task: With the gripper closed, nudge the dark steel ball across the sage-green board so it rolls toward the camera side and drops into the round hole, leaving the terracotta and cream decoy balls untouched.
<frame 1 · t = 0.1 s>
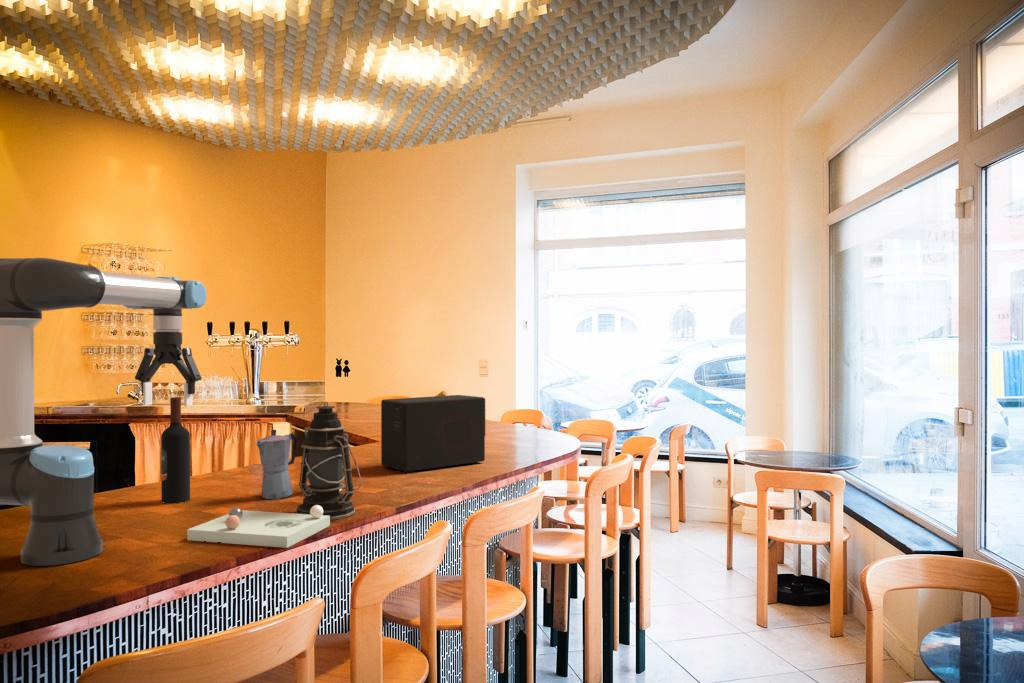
hand: (168, 405, 209), 28 cm above the counter, fingers open, 13 cm apart
cosmetic bottle: (331, 491, 226), on the counter
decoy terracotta: (232, 522, 171), point 4 cm above the counter, touching board
board: (261, 532, 177), on the counter
steel ball: (235, 514, 178), point 4 cm above the counter, touching board
wine bottle: (175, 501, 212), on the counter
moka pot: (277, 496, 218), on the counter
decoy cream: (316, 511, 181), point 4 cm above the counter, touching board
lantern: (325, 514, 196), on the counter
black rectangular block: (433, 465, 272), on the counter
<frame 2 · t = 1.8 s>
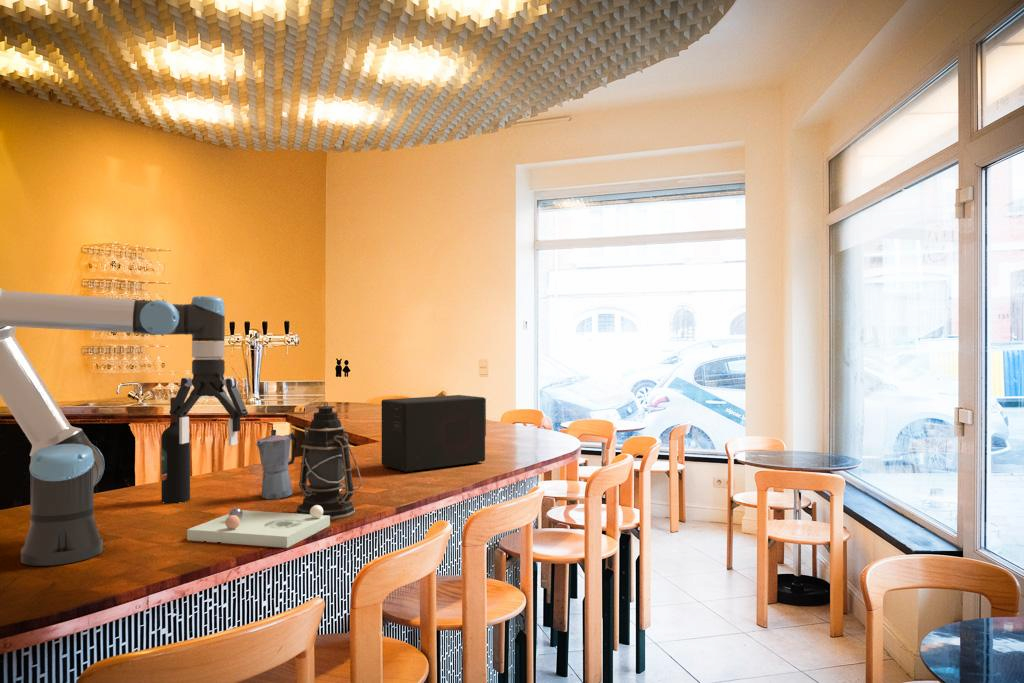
hand: (208, 444, 181), 21 cm above the counter, fingers open, 13 cm apart
nothing on the counter moved.
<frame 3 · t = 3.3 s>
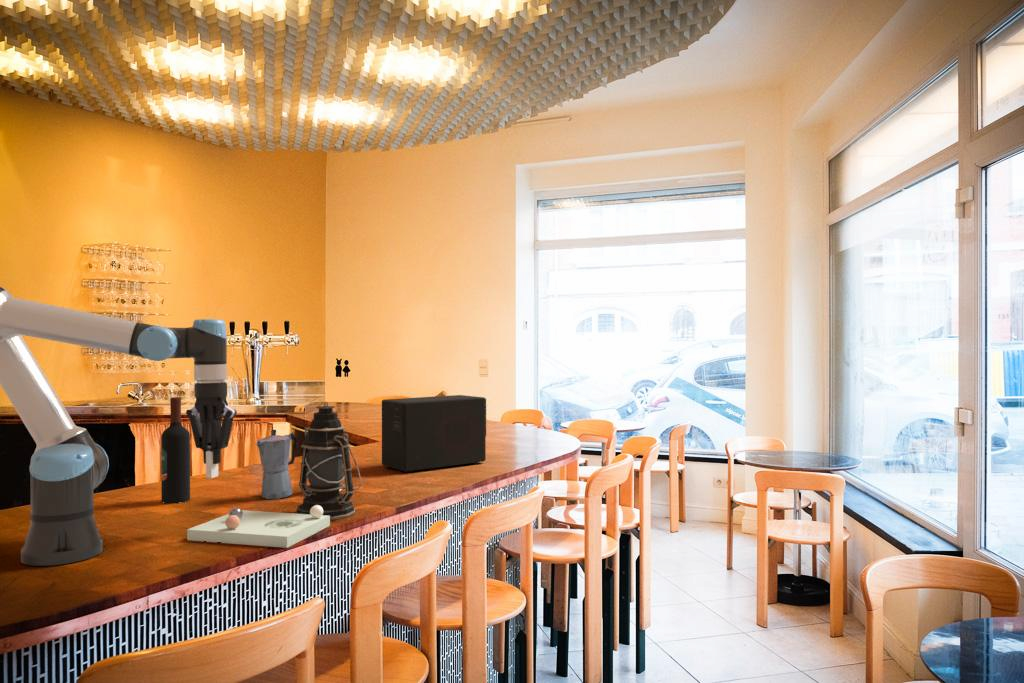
hand: (212, 476, 180), 13 cm above the counter, fingers closed
nothing on the counter moved.
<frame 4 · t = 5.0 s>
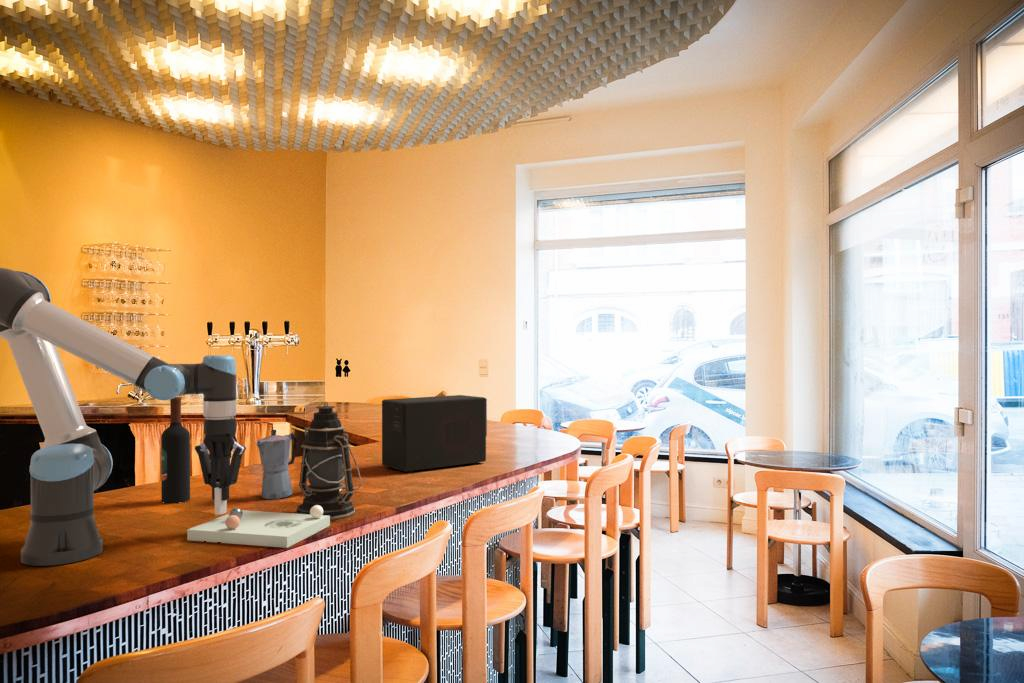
hand: (220, 513, 180), 4 cm above the counter, fingers closed
nothing on the counter moved.
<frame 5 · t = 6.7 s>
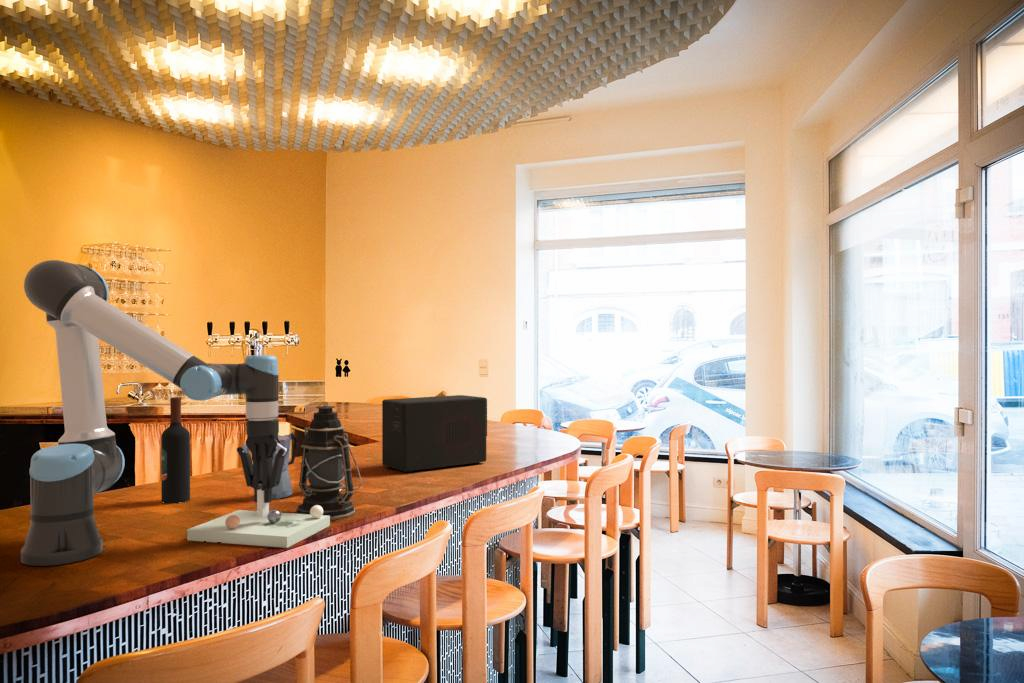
hand: (263, 515, 177), 4 cm above the counter, fingers closed
steel ball: (274, 516, 176), point 4 cm above the counter, tilted 8°, touching board
everything else where it was.
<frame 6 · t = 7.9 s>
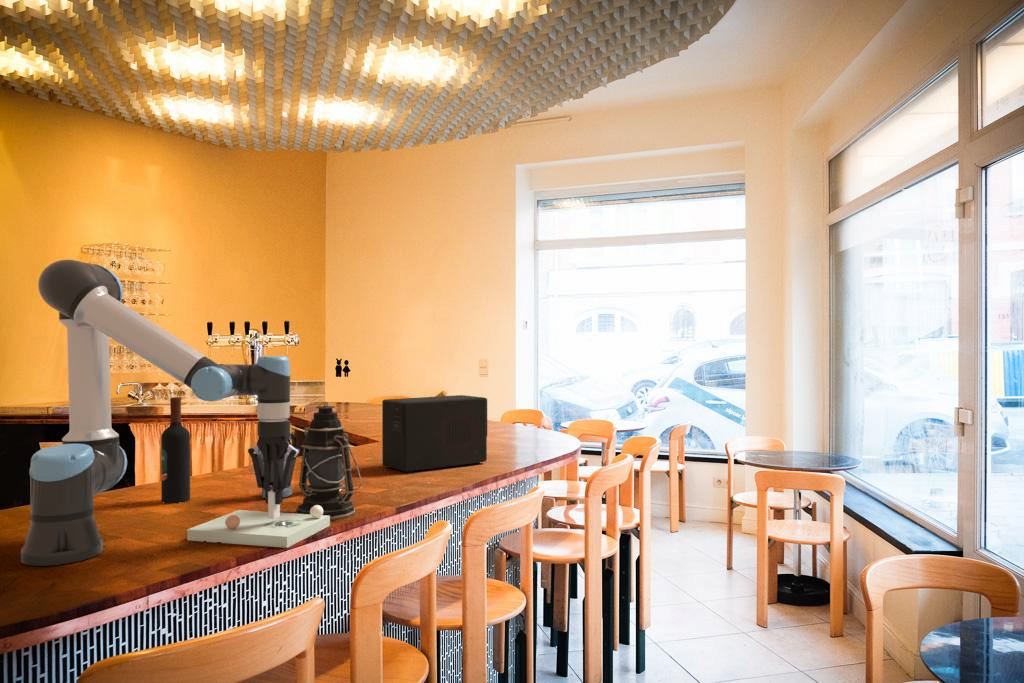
hand: (274, 517, 176), 4 cm above the counter, fingers closed
steel ball: (280, 527, 175), point 2 cm above the counter, tilted 92°
everything else where it was.
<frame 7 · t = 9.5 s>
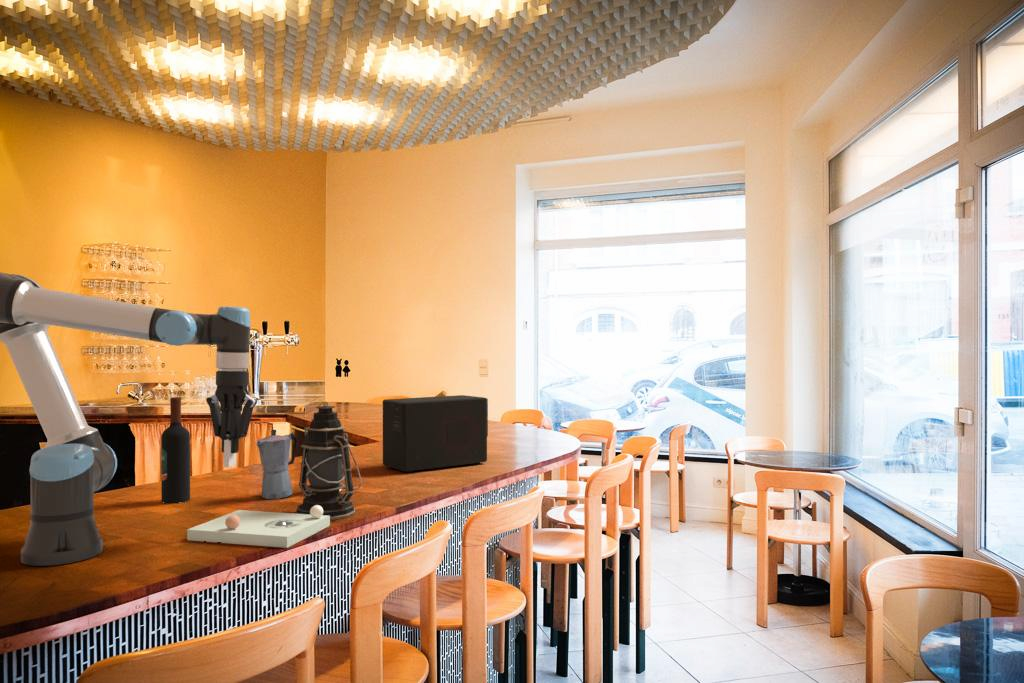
hand: (229, 466, 178), 16 cm above the counter, fingers closed
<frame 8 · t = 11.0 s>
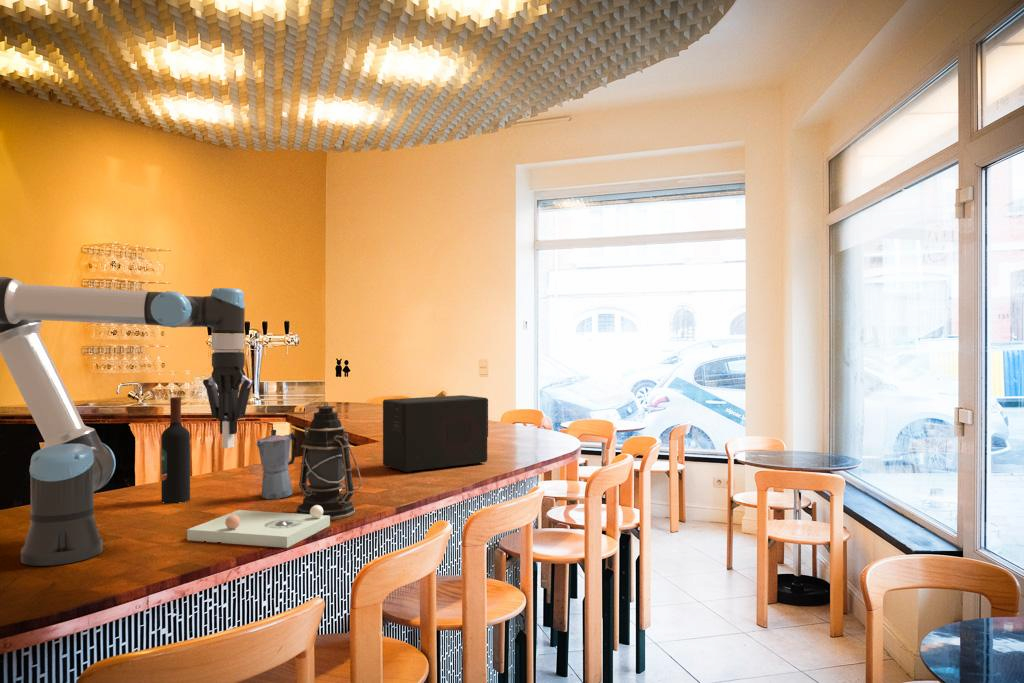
hand: (228, 447, 179), 20 cm above the counter, fingers closed
at the end: steel ball 0.4 cm from the target spot in the board, point 1.6 cm above the board's base; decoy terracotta moved 0.1 cm from its start; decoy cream moved 0.1 cm from its start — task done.
